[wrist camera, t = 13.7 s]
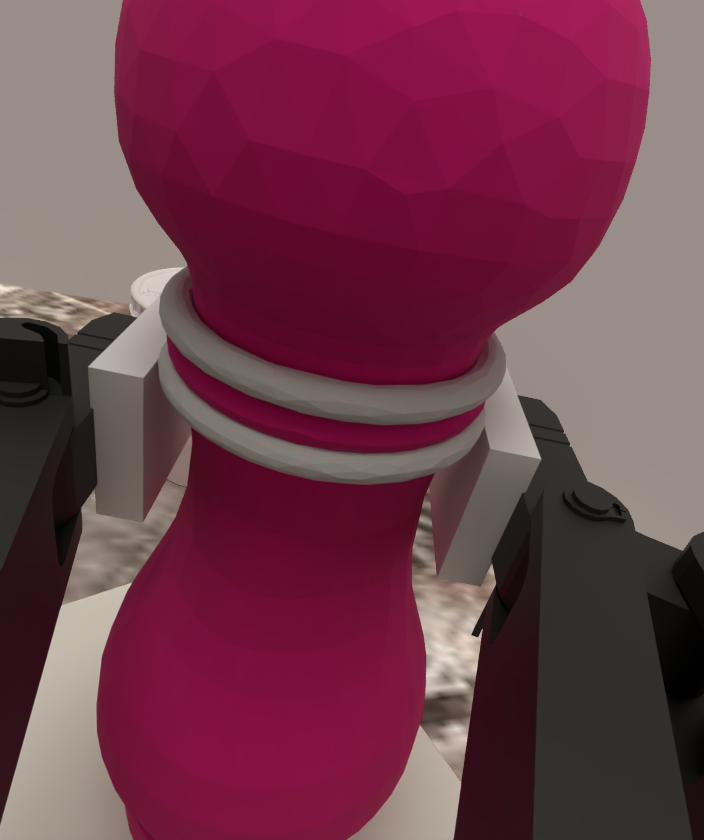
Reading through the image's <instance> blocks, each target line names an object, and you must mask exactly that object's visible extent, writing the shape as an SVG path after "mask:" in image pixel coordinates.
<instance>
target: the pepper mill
mask: <svg viewBox="0 0 704 840" xmlns="http://www.w3.org/2000/svg"><path fill="white" fill-rule="evenodd" d="M650 65H651V57H650V47H649V38H648V29H647V20H646V17H645V14H644V11H643V8H642V5H641V2H640V0H123V3H122V9H121V14H120V21H119V26H118V31H117V37H116V43H115V85H114V95H115V105H116V115H117V126H118V137H119V143H120V145H121V148H122V151H123V154H124V156H125V159H126V162H127V164H128V167H129V170H130V172H131V176H132V178H133V181H134V184H135V187H136V189H137V191H138V192H139V194H140V195H141V197H142V198H143V200H144V202H145V203H146V205H147V206H148V208H149V210H150V211H151V213H152V214H153V216H154V217H155V219H156V220H157V222H158V223H159V225H160V226H161V227H162V229H163V230H164V231H165V232H166V234H167V235H168V236H169V238H170V239H171V240H172V241H173V242H174V244H175V245H176V246H177V248H178V249H179V250H180V252H181V253H182V255H183V257H184V258H185V260H186V262H187V265H188V266H187V267H185V268H183V269H182V270H180V271H179V272H178V273H176V274H175V275H174V276H172V277H171V279H170V280H169V281H168V282H167V284H166V285H165V287H164V289H163V291H162V293H161V296H160V305H159V315H160V319H161V322H162V326H163V328H164V330H165V332H166V333H167V335H166V336H167V341H166V342H165V344H164V345H163V347H162V349H161V352H160V356H159V359H158V370H159V380H160V384H161V387H162V390H163V393H164V394H165V396H166V398H167V399H168V401H169V403H170V405H171V406H172V407H173V408H174V410H175V411H176V412H177V413H178V414H179V416H180V417H181V418H182V419H183V420H184V421H185V422H186V423H187V424H188V425H190V426H191V433H192V449H191V457H190V465H189V474H188V482H187V489H186V491H185V494H184V497H183V499H182V502H181V504H180V507H179V510H178V512H177V515H176V517H175V519H174V521H173V522H172V524H171V526H170V527H169V529H168V531H167V532H166V534H165V536H164V537H163V538H162V540H161V541H160V543H159V544H158V546H157V547H156V549H155V550H154V551H153V553H152V554H151V556H150V557H149V559H148V560H147V562H146V563H145V565H144V566H143V567H142V569H141V570H140V572H139V573H138V575H137V576H136V578H135V579H134V581H133V583H132V584H131V586H130V587H129V589H128V590H127V593H126V595H125V597H124V599H123V602H122V604H121V606H120V609H119V611H118V613H117V616H116V618H115V620H114V622H113V625H112V627H111V630H110V633H109V636H108V639H107V642H106V645H105V648H104V651H103V654H102V659H101V668H100V677H99V686H98V694H97V703H96V714H97V736H98V740H99V745H100V750H101V755H102V759H103V762H104V764H105V767H106V769H107V772H108V774H109V777H110V779H111V781H112V784H113V786H114V789H115V791H116V792H117V794H118V795H119V797H120V798H121V800H122V802H123V803H124V805H125V810H126V815H127V820H128V825H129V830H130V833H131V835H132V838H133V840H347V839H348V838H350V837H351V836H353V835H354V834H356V833H357V832H359V831H360V830H361V829H362V828H363V827H364V826H365V825H366V824H367V823H368V822H369V821H370V820H371V819H372V818H373V817H374V816H375V815H376V813H377V812H378V811H379V810H380V808H381V807H382V806H383V805H384V803H385V802H386V801H387V800H388V798H389V797H390V796H391V795H392V793H393V791H394V789H395V787H396V786H397V784H398V782H399V780H400V778H401V777H402V775H403V773H404V771H405V768H406V765H407V762H408V759H409V756H410V753H411V751H412V748H413V745H414V741H415V738H416V735H417V732H418V729H419V726H420V723H421V720H422V717H423V710H424V699H425V688H426V651H425V643H424V635H423V631H422V627H421V622H420V618H419V614H418V610H417V606H416V601H415V597H414V593H413V589H412V547H413V543H414V539H415V534H416V530H417V526H418V521H419V517H420V513H421V509H422V504H423V500H424V496H425V494H426V492H427V490H428V487H429V485H430V483H431V481H432V479H433V477H434V474H435V472H438V471H440V470H443V469H445V468H447V467H449V466H451V465H452V464H454V463H455V462H457V461H458V460H460V459H461V458H462V457H464V456H465V455H466V454H467V453H469V452H470V450H471V449H472V447H473V446H474V445H475V443H476V442H477V440H478V439H479V437H480V435H481V433H482V431H483V429H484V425H485V416H486V411H485V407H484V405H485V402H486V400H487V399H488V398H489V397H491V396H492V395H493V394H494V393H495V392H496V390H497V389H498V388H499V386H500V385H501V383H502V381H503V378H504V375H505V372H506V359H505V353H504V350H503V348H502V345H501V343H500V341H499V340H498V338H497V336H496V335H495V333H494V331H495V330H496V329H497V328H498V327H499V326H501V325H503V324H504V323H506V322H508V321H510V320H512V319H513V318H515V317H517V316H518V315H520V314H522V313H524V312H526V311H527V310H529V309H531V308H533V307H535V306H536V305H538V304H540V303H542V302H543V301H545V300H546V299H548V298H549V297H550V296H552V295H553V294H555V293H556V292H557V291H559V290H560V289H561V288H563V287H564V286H566V285H567V284H568V283H570V282H571V281H572V280H573V279H574V277H575V276H576V275H577V273H578V272H579V271H580V269H581V268H582V267H583V266H584V265H585V263H586V262H587V261H588V260H589V258H590V257H591V256H592V255H593V253H594V252H595V250H596V249H597V248H598V246H599V245H600V243H601V241H602V239H603V237H604V235H605V233H606V231H607V229H608V228H609V225H610V224H611V222H612V220H613V218H614V216H615V214H616V212H617V210H618V208H619V206H620V204H621V203H622V200H623V198H624V195H625V192H626V189H627V186H628V183H629V180H630V177H631V175H632V171H633V169H634V165H635V163H636V159H637V155H638V152H639V148H640V144H641V140H642V136H643V133H644V129H645V123H646V114H647V106H648V97H649V85H650Z"/></svg>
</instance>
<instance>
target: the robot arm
mask: <svg viewBox="0 0 704 840" xmlns="http://www.w3.org/2000/svg"><path fill="white" fill-rule="evenodd" d="M160 296H161V295H160ZM160 296H159V297H158V298H157V299H156V300H155V301H154V302H153V303H152V304H151V305H150V306H149V307H148V308H147V309H146V310H145V311H144V312H143V313H142V314H141V315H140V316H139V317H134V316H129V315H124V314H119V313H115V312H114V313H112V314H109V315H106V316H103V317H100V318H97V319H94V320H92V321H90V322H89V323H88V324H87V325H86V326H85V327H83V328H82V329H81V330H80V331H79V332H78V335H74V336H73V337H72V338H70V339H69V340H68V335H67V334H66V333H65V332H64V331H63V330H62V329H61V328H60V327H58V326H55V325H53V324H51V323H48V322H46V321H40V320H35V319H29V318H0V824H1V820H2V817H3V813H4V810H5V806H6V802H7V799H8V795H9V792H10V788H11V784H12V781H13V777H14V774H15V770H16V766H17V763H18V759H19V756H20V752H21V748H22V745H23V741H24V738H25V734H26V731H27V727H28V723H29V720H30V716H31V713H32V709H33V705H34V702H35V698H36V695H37V691H38V687H39V684H40V680H41V677H42V673H43V669H44V666H45V662H46V659H47V655H48V651H49V648H50V644H51V641H52V637H53V633H54V630H55V626H56V623H57V619H58V616H59V612H60V608H61V605H62V601H63V598H64V594H65V590H66V587H67V583H68V580H69V576H70V572H71V569H72V565H73V562H74V558H75V554H76V551H77V547H78V544H79V540H80V536H81V533H82V512H81V507H82V505H83V504H84V503H85V501H86V500H87V498H88V497H89V495H90V494H91V493H92V491H93V490H94V488H95V497H96V513H97V514H102V515H107V516H112V517H118V518H123V519H128V520H134V521H139V522H143V521H144V520H145V518H146V516H147V514H148V512H149V510H150V509H151V507H152V505H153V503H154V501H155V499H156V498H157V496H158V494H159V492H160V490H161V488H162V487H163V485H164V483H165V481H166V479H167V477H168V476H169V474H170V472H171V470H172V468H173V466H174V465H175V463H176V461H177V459H178V457H179V455H180V454H181V452H182V450H183V448H184V446H185V444H186V443H187V441H188V439H189V437H190V435H191V426H190V425H188V424H187V423H186V422H185V421H184V420H183V419H182V418H181V417H180V416H179V414H178V413H177V412H176V411H175V410H174V408H173V407H172V406H171V405H170V403H169V401H168V399H167V398H166V396H165V394H164V393H163V390H162V387H161V384H160V380H159V370H158V359H159V356H160V352H161V349H162V347H163V345H164V344H165V342H166V341H167V336H166V335H167V333H166V332H165V330H164V328H163V326H162V322H161V319H160V315H159V305H160ZM484 407H485V411H486V416H485V425H484V429H483V431H482V433H481V435H480V437H479V439H478V440H477V442H476V443H475V445H474V446H473V447H472V449H471V450H470V452H469V453H467V454H466V455H465V456H464V457H462V458H461V459H460V460H458V461H457V462H455V463H454V464H452V465H451V466H449V467H447V468H445V469H443V470H440V471H438V472H435V474H434V477H433V479H432V481H431V483H430V485H429V491H430V502H431V514H432V525H433V537H434V548H435V560H436V571H437V578H439V579H445V580H450V581H455V582H460V583H466V584H471V585H476V586H481V584H482V582H483V580H484V578H485V576H486V574H487V572H488V570H489V568H490V566H491V564H493V569H494V574H495V579H496V586H495V588H494V590H493V592H492V594H491V596H490V598H489V600H488V602H487V604H486V606H485V608H484V610H483V612H482V614H481V616H480V618H479V620H478V622H477V624H476V626H475V628H474V630H473V632H472V635H473V636H475V637H478V636H479V634H480V632H481V630H482V628H483V631H482V638H481V646H480V653H479V660H478V667H477V674H476V681H475V689H474V696H473V703H472V710H471V717H470V725H469V732H468V739H467V746H466V753H465V760H464V768H463V775H462V782H461V789H460V796H459V804H458V811H457V818H456V825H455V832H454V839H453V840H704V532H702V533H700V534H697V535H695V536H693V538H692V539H691V541H690V542H689V543H688V545H687V546H686V547H685V549H684V550H683V551H681V550H679V549H676V548H674V547H671V546H669V545H666V544H664V543H662V542H659V541H657V540H655V539H652V538H650V537H647V536H645V535H643V534H641V533H638V532H636V531H635V527H634V522H633V520H632V518H631V515H630V513H629V511H628V509H627V508H626V507H625V506H624V505H623V504H622V503H621V502H620V501H619V500H618V499H617V498H616V497H614V496H613V495H612V494H610V493H609V492H607V491H606V490H604V489H603V488H601V487H599V486H597V485H594V484H592V483H590V482H588V481H587V479H586V477H585V475H584V473H583V470H582V468H581V466H580V464H579V462H578V460H577V458H576V455H575V454H574V451H573V449H572V447H569V445H570V443H569V441H568V439H567V437H566V434H563V432H564V430H563V428H562V426H561V424H560V421H559V419H558V417H557V416H556V414H555V413H554V412H553V411H551V410H550V409H549V408H548V407H547V406H546V405H545V404H544V403H543V402H542V401H541V400H538V399H533V398H528V397H524V396H519V395H517V393H516V391H515V388H514V385H513V383H512V380H511V378H510V375H509V372H508V370H507V367H506V372H505V375H504V378H503V381H502V383H501V385H500V386H499V388H498V389H497V390H496V392H495V393H494V394H493V395H492V396H491V397H489V398H488V399H487V400H486V402H485V405H484Z"/></svg>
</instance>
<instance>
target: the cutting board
mask: <svg viewBox="0 0 704 840" xmlns="http://www.w3.org/2000/svg"><path fill="white" fill-rule="evenodd" d="M131 584H132V583H130V584H126V585H123V586H120V587H117V588H114V589H111V590H108V591H105V592H102V593H99V594H95V595H92V596H89V597H86V598H83V599H80V600H77V601H74V602H71V603H68V604H64V605H61V608H60V612H59V616H58V619H57V623H56V626H55V630H54V633H53V637H52V641H51V644H50V648H49V651H48V655H47V659H46V662H45V666H44V669H43V673H42V677H41V680H40V684H39V687H38V691H37V695H36V698H35V702H34V705H33V709H32V713H31V716H30V720H29V723H28V727H27V731H26V734H25V738H24V741H23V745H22V748H21V752H20V756H19V759H18V763H17V766H16V770H15V774H14V777H13V781H12V784H11V788H10V792H9V795H8V799H7V802H6V806H5V810H4V813H3V817H2V820H1V824H0V840H133V838H132V835H131V833H130V830H129V825H128V820H127V815H126V810H125V805H124V803H123V802H122V800H121V798H120V797H119V795H118V794H117V792H116V791H115V789H114V786H113V784H112V781H111V779H110V777H109V774H108V772H107V769H106V767H105V764H104V762H103V759H102V755H101V750H100V745H99V740H98V736H97V714H96V703H97V694H98V686H99V677H100V668H101V659H102V654H103V651H104V648H105V645H106V642H107V639H108V636H109V633H110V630H111V627H112V625H113V622H114V620H115V618H116V616H117V613H118V611H119V609H120V606H121V604H122V602H123V599H124V597H125V595H126V593H127V590H128V589H129V587H130V586H131ZM460 789H461V782H460V780H459V779H458V778H457V776H456V775H455V773H454V772H453V771H452V769H451V768H450V766H449V765H448V764H447V762H446V761H445V759H444V758H443V757H442V755H441V754H440V752H439V751H438V750H437V748H436V747H435V745H434V744H433V743H432V741H431V740H430V738H429V737H428V735H427V734H426V733H425V731H424V730H423V728H422V727H421V726H419V729H418V732H417V735H416V738H415V741H414V745H413V748H412V751H411V753H410V756H409V759H408V762H407V765H406V768H405V771H404V773H403V775H402V777H401V778H400V780H399V782H398V784H397V786H396V787H395V789H394V791H393V793H392V795H391V796H390V797H389V798H388V800H387V801H386V802H385V803H384V805H383V806H382V807H381V808H380V810H379V811H378V812H377V813H376V815H375V816H374V817H373V818H372V819H371V820H370V821H369V822H368V823H367V824H366V825H365V826H364V827H363V828H362V829H361V830H360V831H359V832H357V833H356V834H354V835H353V836H351V837H350V838H348V839H347V840H453V839H454V832H455V825H456V818H457V811H458V804H459V796H460Z"/></svg>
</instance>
